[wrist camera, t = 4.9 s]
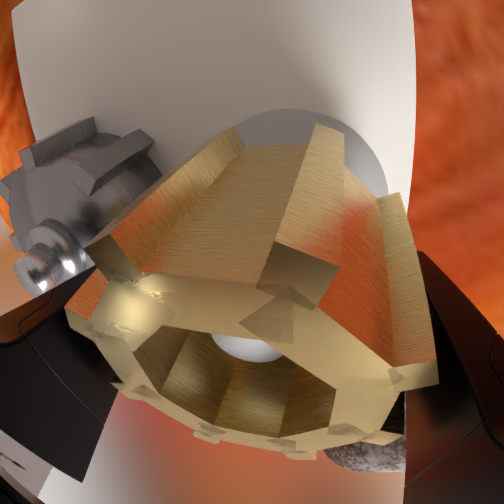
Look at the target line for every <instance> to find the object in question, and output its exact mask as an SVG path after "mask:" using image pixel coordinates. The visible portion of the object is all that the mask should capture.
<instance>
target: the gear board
mask: <svg viewBox="0 0 504 504" xmlns="http://www.w3.org/2000/svg"><path fill="white" fill-rule="evenodd" d="M11 14H12V24H13V33H14V41H15V48H16V55H17V61H18V67H19V72H20V78H21V83H22V87H23V92H24V97H25V101H26V105H27V110H28V114H29V118H30V121H31V125H32V129H33V133H34V136H35V140H36V142H37V141H39V140H41V139H42V138H44V137H46V136H48V135H50V134H52V133H54V132H56V131H58V130H60V129H62V128H64V127H66V126H68V125H70V124H73V123H75V122H77V121H79V120H82V119H85V118H89V117H92V116H94V120H95V124H96V128H97V132H99V133H109V134H114V135H117V136H120V137H124V136H126V135H128V134H130V133H132V132H133V131H135V130H137V129H139V128H140V129H141V130H142V131H144V132H145V133H146V134H147V135H149V136H150V137H151V138H153V139H154V140H155V141H154V143H153V145H152V146H151V148H150V150H149V152H148V153H147V155H148V156H149V158H150V159H151V160H152V161H153V162H154V163H155V165H156V166H157V167H158V169H159V170H160V172H161V173H162V175H164V174H165V173H167V172H168V171H169V170H170V169H171V168H173V167H174V166H175V165H176V164H178V163H179V162H180V161H181V160H182V159H184V158H185V157H186V156H187V155H189V154H190V153H191V152H193V151H194V150H195V149H196V148H198V147H199V146H200V145H201V144H203V143H204V142H205V141H207V140H208V139H209V138H211V137H212V136H214V135H216V134H218V133H220V132H222V131H224V130H225V129H227V128H229V127H231V126H233V125H234V127H235V129H236V130H237V132H238V134H239V136H240V137H241V139H242V141H243V143H244V144H245V146H259V145H308V143H309V141H310V138H311V136H312V133H313V130H314V128H315V125H316V123H319V124H321V125H324V126H326V127H329V128H331V129H334V130H336V131H339V132H341V133H343V134H344V165H345V166H346V167H347V168H348V169H349V170H350V171H351V172H352V173H353V174H354V175H355V176H356V177H357V178H358V179H359V180H360V181H361V182H362V183H363V184H364V185H365V186H366V187H367V188H368V189H369V190H370V191H371V192H372V193H373V194H374V195H375V196H376V198H380V197H383V196H386V195H390V194H393V193H396V192H400V195H401V199H402V202H403V205H404V208H405V212H406V215H407V209H408V202H409V194H410V185H411V176H412V165H413V153H414V138H415V117H416V58H415V38H414V24H413V13H412V4H411V0H24V1H23V2H21V3H20V4H19V5H18V6H16V7H15V8H14V9H13V10H12V11H11ZM211 335H212V338H213V339H214V341H215V342H216V344H217V345H218V346H219V347H220V348H222V349H223V350H224V351H225V352H227V353H229V354H230V355H232V356H234V357H237V358H239V359H242V360H246V361H250V362H270V361H273V360H276V359H278V358H279V357H281V356H282V355H283V354H282V353H280V352H279V351H277V350H276V349H274V348H273V347H271V346H270V345H268V344H267V343H266V342H264V341H262V340H254V339H246V338H239V337H232V336H225V335H219V334H212V333H211Z"/></svg>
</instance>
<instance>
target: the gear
mask: <svg viewBox="0 0 504 504" xmlns="http://www.w3.org/2000/svg"><path fill="white" fill-rule="evenodd" d="M154 141H155V140H154V139H153V138H151V137H150V136H149V135H147V134H146V133H145V132H144V131H142V130H141V129H140V128H139V129H137V130H135V131H133V132H132V133H130V134H128V135H126V136H124V137H120V136H117V135H114V134H109V133H99V132H97V128H96V124H95V120H94V116H92V117H89V118H85V119H82V120H79V121H77V122H75V123H73V124H70V125H68V126H66V127H64V128H62V129H60V130H58V131H56V132H54V133H52V134H50V135H48V136H46V137H44V138H42V139H41V140H39V141H37V142H35V143H33V144H31V145H29V146H28V147H26V148H24V149H22V150H21V151H19V155H20V159H21V162H22V165H23V166H21V167H20V168H18V169H17V170H15V171H13V172H12V173H10V174H9V175H7V176H6V177H4V178H3V179H1V180H0V195H1V196H2V197H3V198H4V199H5V200H6V201H7V203H8V204H9V213H10V219H11V223H12V227H13V230H14V232H13V233H12V234H11V235H10V236H9V238H10V240H11V242H12V244H13V246H14V248H15V250H16V251H23V252H24V255H23V256H22V257H21V258H20V259H19V260H18V261H17V262H16V263H15V264H14V272H15V275H16V277H17V279H18V280H19V282H20V283H21V285H22V286H23V287H24V288H25V289H26V290H27V291H28V292H29V293H30V294H31V295H32V296H34V297H35V298H36V297H38V296H39V295H41V294H43V293H45V292H47V291H48V290H50V289H52V288H54V287H57V285H59V284H61V283H63V282H65V281H66V280H68V279H70V278H72V277H74V276H75V275H77V274H79V273H81V272H83V271H85V270H86V269H88V268H90V267H92V266H94V265H95V264H94V262H93V261H92V260H91V258H90V257H89V256H88V255H87V253H86V252H85V251H84V248H85V246H86V245H88V244H89V243H90V242H91V241H92V240H93V239H94V238H95V237H96V236H97V235H98V234H99V233H100V232H101V231H102V230H103V229H104V228H105V227H106V226H107V225H108V224H109V223H110V222H111V221H112V220H113V219H114V218H116V217H117V216H118V215H119V214H120V213H121V212H122V211H123V210H124V209H125V208H126V207H127V206H129V205H130V204H131V203H132V202H133V201H134V200H135V199H136V198H137V197H139V196H140V195H141V194H142V193H143V192H144V191H145V190H147V189H148V188H149V187H150V186H151V185H152V184H154V183H155V182H156V181H157V180H158V179H159V178H161V177H162V176H163V175H162V173H161V172H160V170H159V169H158V167H157V166H156V165H155V163H154V162H153V161H152V160H151V159H150V158H149V156H148V155H147V153H148V152H149V150H150V148H151V146H152V145H153V143H154Z"/></svg>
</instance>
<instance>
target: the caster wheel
mask: <svg viewBox="0 0 504 504" xmlns="http://www.w3.org/2000/svg"><path fill="white" fill-rule="evenodd" d="M323 451H324V452H325V454H326V455H327V456H328V457H329V458H330V459H331V460H332V461H334V462H335V463H336V464H338V465H340V466H342V467H344V468H347V469H350V470H353V471H359V472H399V471H405V468H406V393H405V417H404V435H403V436H402V437H400V438H398V439H396V440H394V441H392V442H390V443H388V444H386V445H384V446H383V445H378V444H372V443H367V442H362V441H359V442H355V443H351V444H347V445H342V446H337V447H333V448H328V449H323Z"/></svg>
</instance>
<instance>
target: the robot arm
mask: <svg viewBox="0 0 504 504" xmlns="http://www.w3.org/2000/svg"><path fill="white" fill-rule="evenodd" d="M416 252H417V256H418V260H419V264H420V268H421V273H422V277H423V282H424V286H425V291H426V296H427V301H428V307H429V312H430V318H431V324H432V330H433V337H434V344H435V351H436V359H437V368H438V378H439V384H436V385H432V386H427V387H422V388H417V389H412V390H407V391H405V393H406V468H405V487H404V497H403V498H404V499H403V504H504V340H503V338H502V337H501V336H500V335H499V334H497V331H496V330H495V329H494V328H493V326H492V325H491V324H490V323H489V322H488V321H487V319H486V318H485V317H484V316H483V315H482V314H481V312H480V311H479V310H478V309H477V308H476V307H475V306H474V305H473V303H472V302H471V301H470V300H469V299H468V298H467V297H466V296H465V295H464V294H463V292H462V291H461V290H460V289H459V288H458V287H457V286H456V285H455V284H454V283H453V282H452V281H451V280H450V279H449V278H448V277H447V275H446V274H445V273H444V272H443V271H442V270H441V269H440V268H439V267H438V266H437V265H436V264H435V263H434V262H433V261H432V260H431V259H430V258H429V257H428V256H427V255H426V254H425V253H424V252H422V251H416ZM97 268H98V267H97V266H96V265H94V266H92V267H90V268H88V269H86V270H85V271H83V272H81V273H79V274H77V275H75V276H74V277H72V278H70V279H68V280H66V281H65V282H63V283H61V284H59V285H57V287H54V288H52V289H50V290H48V291H47V292H45V293H43V294H41V295H39V296H38V297H36V298H34V299H32V300H30V301H29V302H27V303H25V304H23V305H21V306H19V307H17V308H15V309H13V310H11V311H9V312H7V313H5V314H4V315H2V316H0V504H45V503H43V502H42V501H41V500H40V499H38V498H37V497H38V494H39V493H40V490H41V489H42V487H43V485H44V483H45V481H46V479H47V477H48V475H49V473H50V471H51V469H52V467H55V468H57V469H58V470H60V471H62V472H63V473H65V474H67V475H69V476H70V477H72V478H74V479H75V480H77V481H79V482H81V483H82V482H83V480H84V478H85V475H86V472H87V469H88V466H89V464H90V461H91V458H92V455H93V453H94V451H95V448H96V445H97V443H98V440H99V438H100V435H101V433H102V430H103V428H104V424H105V422H106V419H107V417H108V414H109V412H110V410H111V407H112V405H113V403H114V400H115V398H116V395H117V393H118V391H119V390H118V389H117V388H116V387H115V386H113V385H112V384H111V383H110V382H111V380H112V378H113V377H114V375H115V371H114V370H113V368H112V367H111V366H110V364H109V363H108V361H107V360H106V359H105V357H104V356H103V354H102V353H101V351H100V350H99V348H98V347H97V345H96V344H95V342H94V341H93V340H91V339H89V338H87V337H86V336H84V335H82V334H80V333H79V332H77V331H75V330H74V329H72V328H70V325H69V322H68V319H67V316H66V312H65V309H64V306H65V305H66V304H67V303H68V301H69V300H70V299H71V298H72V297H73V295H74V294H75V293H76V292H77V291H78V290H79V288H80V287H81V286H82V285H83V284H84V283H85V281H86V280H87V279H88V278H89V277H90V276H91V274H92V273H93V272H94V271H95V270H96V269H97Z"/></svg>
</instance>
